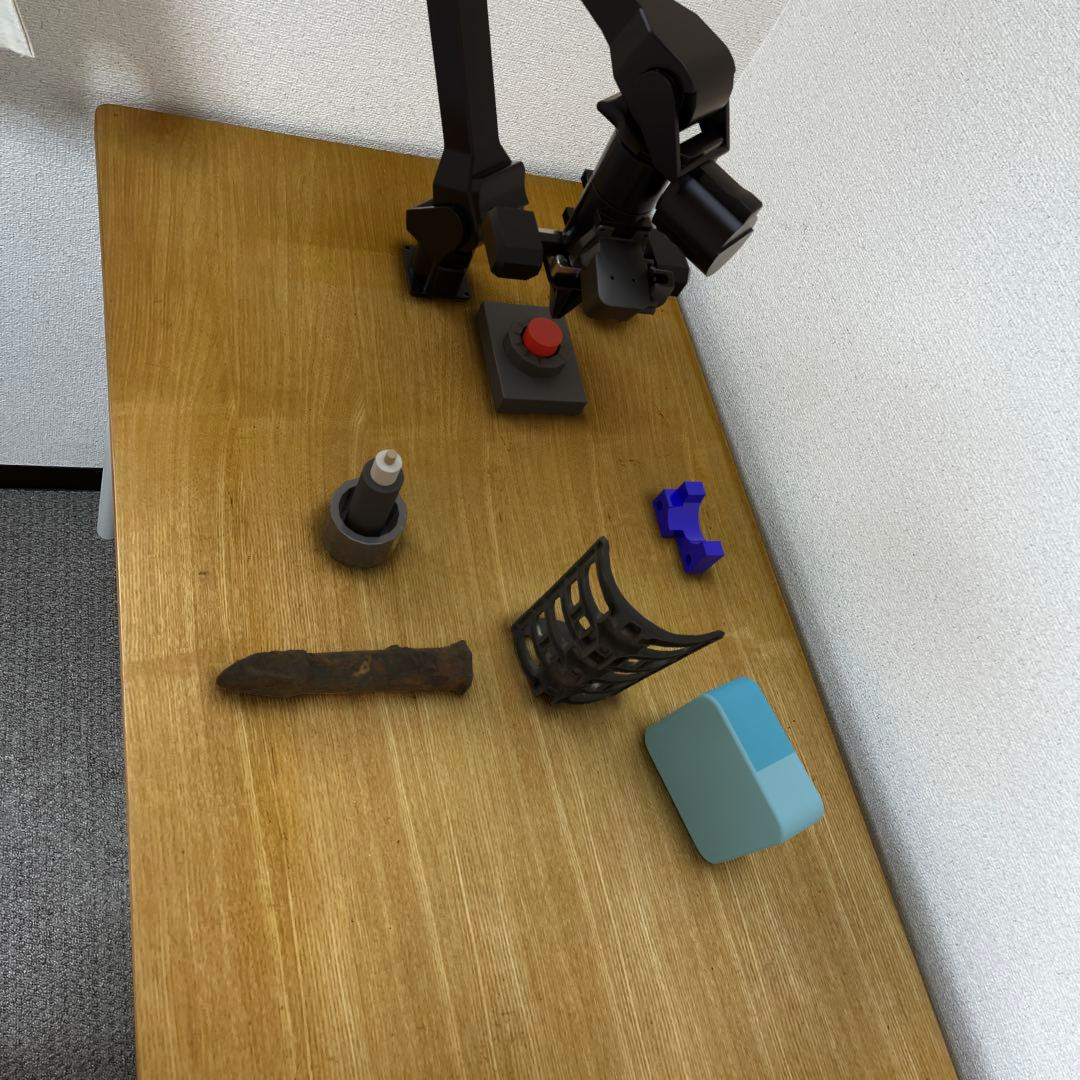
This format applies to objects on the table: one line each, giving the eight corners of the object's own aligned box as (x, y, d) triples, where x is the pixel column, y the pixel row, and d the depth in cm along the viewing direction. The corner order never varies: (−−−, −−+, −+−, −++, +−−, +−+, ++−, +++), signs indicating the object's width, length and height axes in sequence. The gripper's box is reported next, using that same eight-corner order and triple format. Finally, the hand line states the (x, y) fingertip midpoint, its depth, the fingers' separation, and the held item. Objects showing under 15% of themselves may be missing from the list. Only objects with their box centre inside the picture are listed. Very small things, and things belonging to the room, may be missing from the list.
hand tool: (459, 653, 75) (475, 631, 71) (463, 699, 73) (480, 680, 69) (217, 651, 68) (221, 628, 64) (215, 703, 66) (219, 682, 62)
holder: (630, 656, 80) (743, 580, 62) (604, 734, 76) (716, 676, 59) (519, 603, 79) (603, 509, 61) (488, 679, 75) (567, 603, 58)
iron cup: (318, 503, 76) (326, 476, 73) (390, 503, 79) (401, 477, 75) (325, 569, 74) (334, 545, 70) (399, 567, 76) (411, 543, 73)
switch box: (475, 315, 93) (487, 289, 89) (554, 322, 96) (568, 297, 93) (496, 412, 88) (509, 388, 84) (578, 415, 91) (594, 392, 88)
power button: (519, 327, 89) (525, 315, 88) (552, 329, 90) (558, 318, 89) (526, 356, 88) (532, 345, 86) (559, 358, 89) (566, 347, 88)
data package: (745, 845, 76) (833, 816, 66) (705, 868, 73) (790, 842, 64) (677, 715, 79) (751, 669, 69) (637, 733, 77) (708, 688, 67)
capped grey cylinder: (335, 520, 76) (364, 438, 65) (371, 512, 77) (404, 432, 67) (348, 553, 75) (378, 475, 64) (384, 544, 76) (419, 468, 66)
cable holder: (652, 501, 90) (671, 481, 86) (682, 501, 91) (702, 481, 88) (672, 574, 86) (693, 555, 83) (703, 573, 88) (724, 554, 84)
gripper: (538, 251, 66) (475, 379, 79) (747, 276, 73) (659, 389, 86) (510, 143, 70) (455, 280, 83) (709, 177, 78) (631, 299, 91)
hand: (553, 315), depth 86 cm, fingers closed
